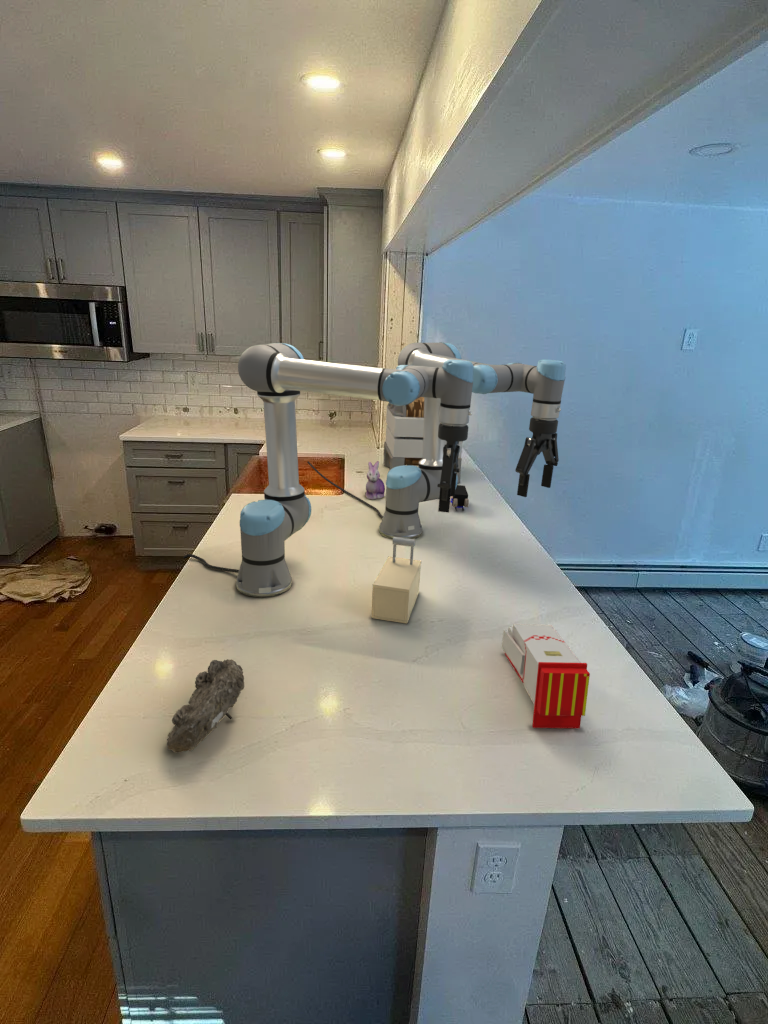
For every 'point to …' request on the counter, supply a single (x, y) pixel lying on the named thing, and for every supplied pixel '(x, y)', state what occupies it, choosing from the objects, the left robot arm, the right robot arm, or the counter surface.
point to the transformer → (407, 435)
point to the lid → (398, 569)
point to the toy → (548, 674)
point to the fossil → (206, 705)
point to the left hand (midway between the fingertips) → (446, 503)
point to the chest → (394, 602)
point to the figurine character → (460, 498)
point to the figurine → (374, 483)
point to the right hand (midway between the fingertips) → (534, 491)
